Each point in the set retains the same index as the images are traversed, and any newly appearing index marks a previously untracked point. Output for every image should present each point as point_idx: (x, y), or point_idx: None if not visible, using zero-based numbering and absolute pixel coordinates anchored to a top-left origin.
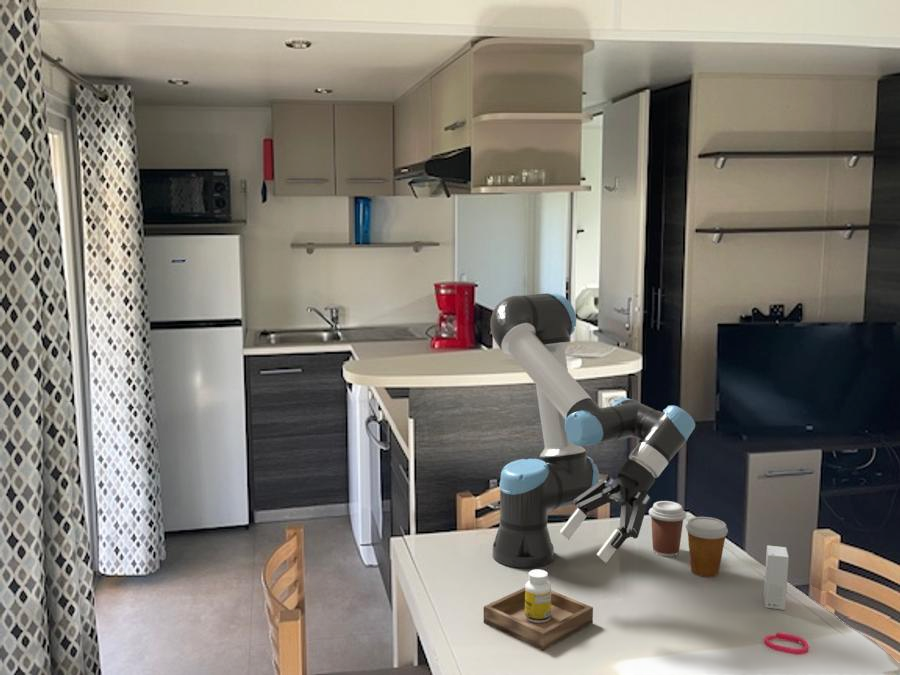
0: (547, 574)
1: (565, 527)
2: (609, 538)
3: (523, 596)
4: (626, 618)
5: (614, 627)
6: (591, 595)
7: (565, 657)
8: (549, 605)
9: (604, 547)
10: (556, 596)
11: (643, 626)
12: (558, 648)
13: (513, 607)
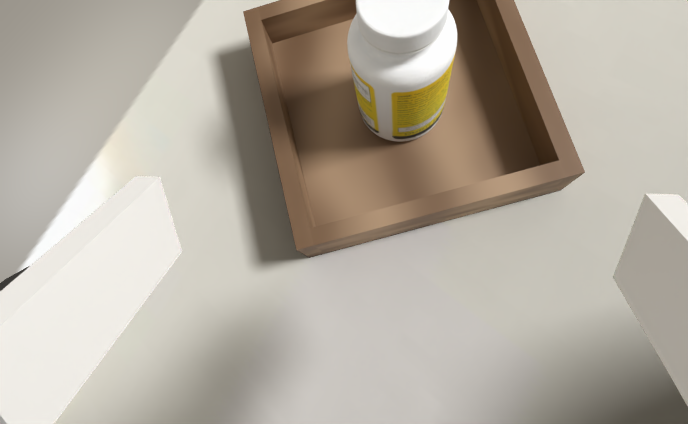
0: (368, 25)
1: (675, 225)
2: (49, 269)
3: (529, 111)
4: (277, 384)
5: (252, 302)
6: (487, 399)
7: (203, 76)
8: (359, 97)
9: (94, 213)
10: (446, 192)
11: (206, 394)
12: (248, 84)
13: (501, 73)
